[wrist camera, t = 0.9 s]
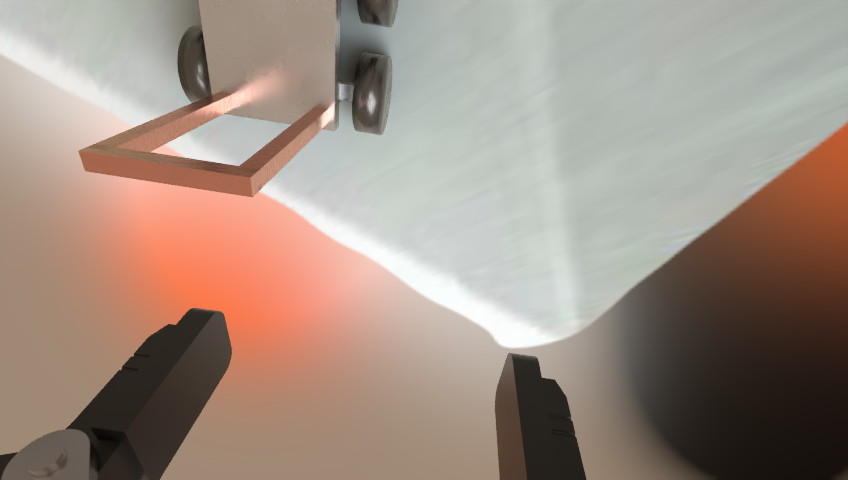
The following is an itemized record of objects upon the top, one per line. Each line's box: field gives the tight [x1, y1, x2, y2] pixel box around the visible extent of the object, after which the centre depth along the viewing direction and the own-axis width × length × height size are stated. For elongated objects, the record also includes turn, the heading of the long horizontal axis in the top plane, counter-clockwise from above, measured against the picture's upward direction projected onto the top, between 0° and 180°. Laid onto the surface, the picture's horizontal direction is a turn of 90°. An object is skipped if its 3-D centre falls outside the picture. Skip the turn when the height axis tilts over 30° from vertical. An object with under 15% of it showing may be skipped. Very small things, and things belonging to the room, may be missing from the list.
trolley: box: [79, 0, 398, 197], centre depth 25 cm, size 14×15×20 cm
